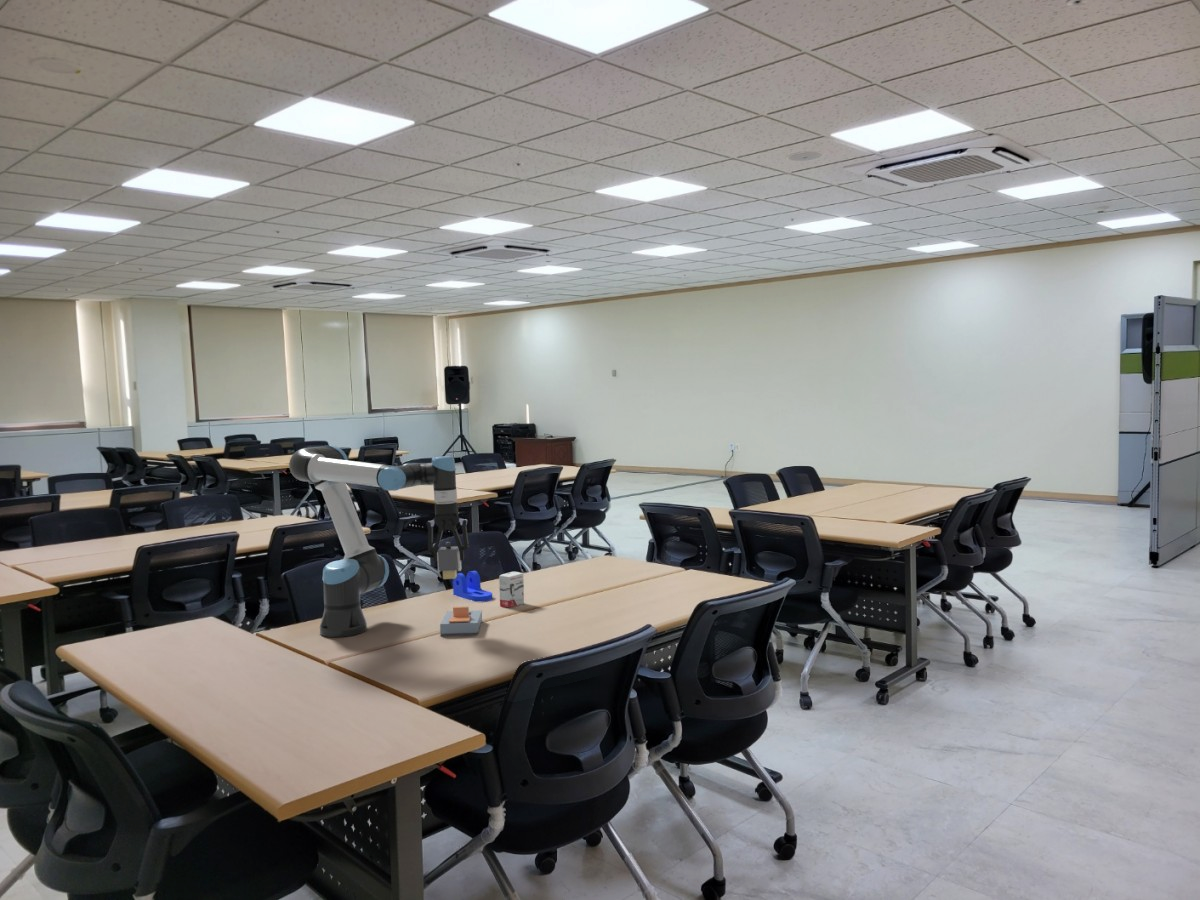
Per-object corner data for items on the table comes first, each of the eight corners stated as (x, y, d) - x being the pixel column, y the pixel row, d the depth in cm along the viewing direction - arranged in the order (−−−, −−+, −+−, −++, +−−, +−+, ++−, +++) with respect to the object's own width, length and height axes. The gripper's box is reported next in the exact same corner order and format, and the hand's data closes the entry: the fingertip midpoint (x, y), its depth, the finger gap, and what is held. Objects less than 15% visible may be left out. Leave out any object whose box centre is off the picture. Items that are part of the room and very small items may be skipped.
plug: (439, 579, 276) (437, 544, 276) (442, 576, 282) (440, 541, 282) (457, 579, 276) (455, 543, 276) (460, 575, 282) (458, 540, 282)
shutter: (448, 622, 272) (448, 612, 272) (451, 617, 278) (451, 607, 278) (468, 621, 272) (468, 611, 272) (471, 616, 279) (470, 606, 278)
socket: (440, 636, 271) (440, 624, 271) (447, 622, 287) (447, 611, 287) (477, 634, 272) (477, 622, 272) (482, 621, 288) (481, 610, 287)
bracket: (453, 595, 328) (452, 572, 328) (471, 591, 334) (470, 569, 333) (478, 603, 315) (477, 579, 314) (496, 599, 320) (495, 576, 320)
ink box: (509, 608, 305) (508, 576, 304) (499, 606, 308) (498, 575, 307) (524, 603, 312) (524, 572, 311) (515, 601, 315) (514, 571, 314)
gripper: (415, 505, 274) (419, 574, 275) (472, 502, 274) (476, 571, 276) (419, 502, 282) (423, 569, 283) (475, 499, 282) (479, 567, 283)
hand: (449, 570), depth 279 cm, fingers closed on plug, 6 cm apart
